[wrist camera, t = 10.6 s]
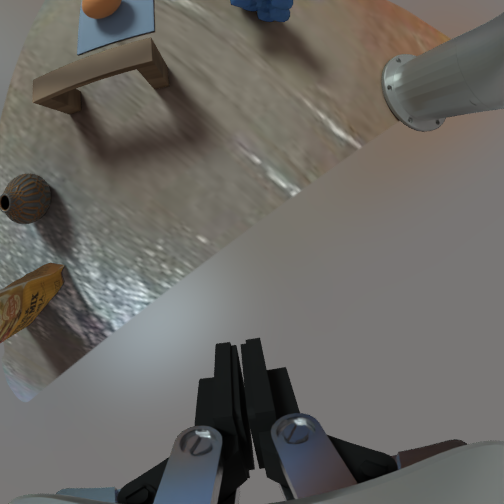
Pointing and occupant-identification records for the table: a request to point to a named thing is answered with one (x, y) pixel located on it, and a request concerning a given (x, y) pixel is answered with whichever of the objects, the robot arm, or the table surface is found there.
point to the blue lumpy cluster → (267, 8)
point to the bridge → (99, 74)
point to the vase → (26, 198)
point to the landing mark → (115, 25)
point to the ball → (100, 8)
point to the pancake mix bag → (28, 298)
